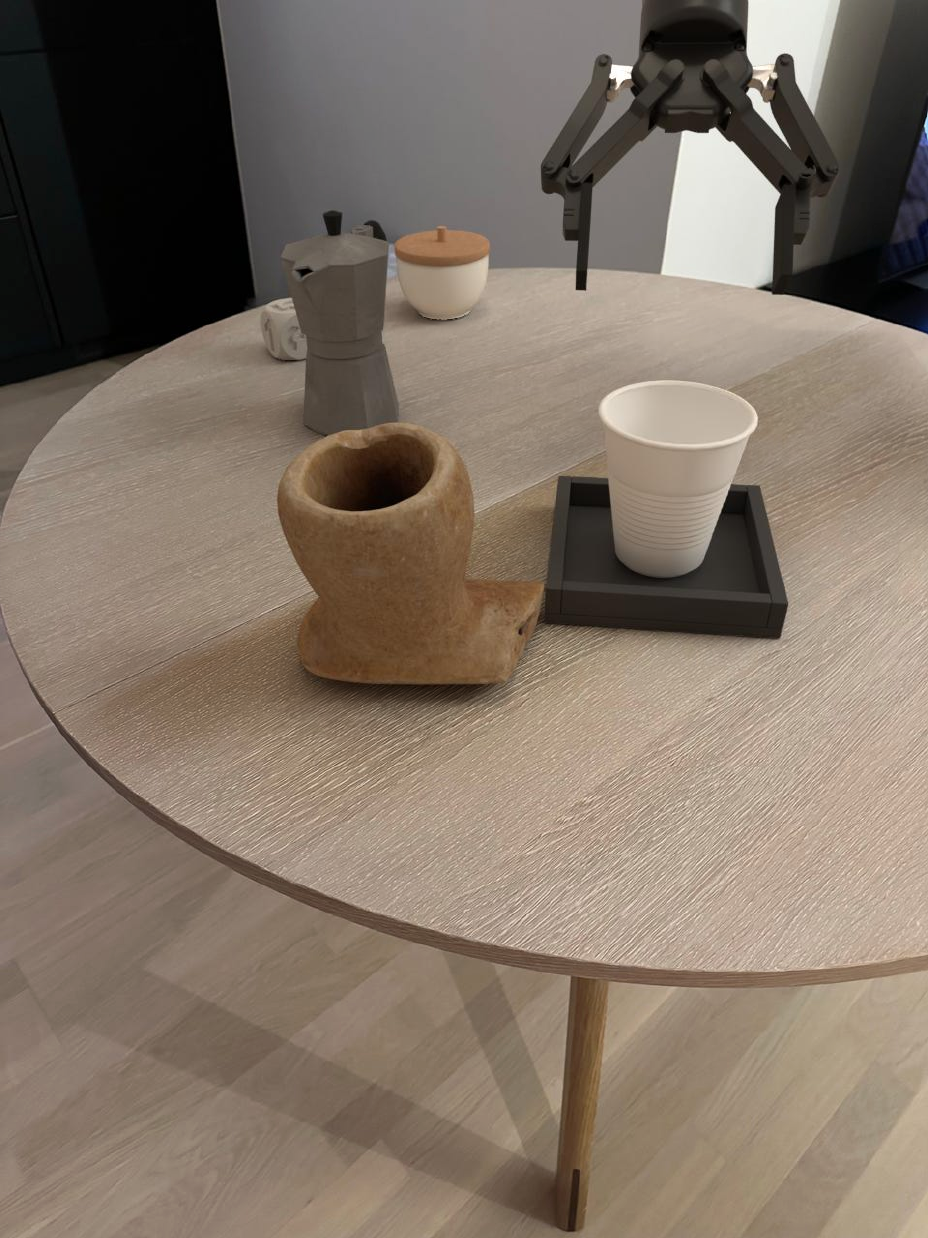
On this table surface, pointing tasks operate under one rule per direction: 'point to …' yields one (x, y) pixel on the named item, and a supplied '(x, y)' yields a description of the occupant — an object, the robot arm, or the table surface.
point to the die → (283, 331)
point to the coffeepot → (343, 325)
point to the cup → (670, 469)
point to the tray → (694, 602)
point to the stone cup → (397, 564)
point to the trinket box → (442, 271)
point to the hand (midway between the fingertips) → (680, 283)
